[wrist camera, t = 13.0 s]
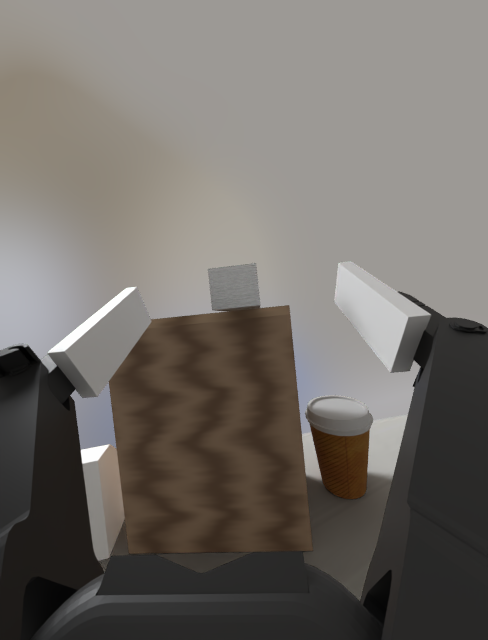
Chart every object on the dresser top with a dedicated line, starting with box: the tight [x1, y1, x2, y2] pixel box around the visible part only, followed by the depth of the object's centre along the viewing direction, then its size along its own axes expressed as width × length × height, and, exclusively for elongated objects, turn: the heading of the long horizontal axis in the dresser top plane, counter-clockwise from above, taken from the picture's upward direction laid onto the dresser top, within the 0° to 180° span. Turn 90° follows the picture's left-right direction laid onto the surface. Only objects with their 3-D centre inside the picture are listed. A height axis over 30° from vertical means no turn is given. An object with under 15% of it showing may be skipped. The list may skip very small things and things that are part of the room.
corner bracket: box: [81, 444, 125, 561], centre depth 27 cm, size 11×11×12 cm
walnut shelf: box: [109, 305, 313, 554], centre depth 31 cm, size 22×12×28 cm, turn 86°
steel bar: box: [208, 263, 260, 311], centre depth 26 cm, size 4×22×3 cm, turn 176°
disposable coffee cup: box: [305, 395, 373, 499], centre depth 33 cm, size 10×10×12 cm
